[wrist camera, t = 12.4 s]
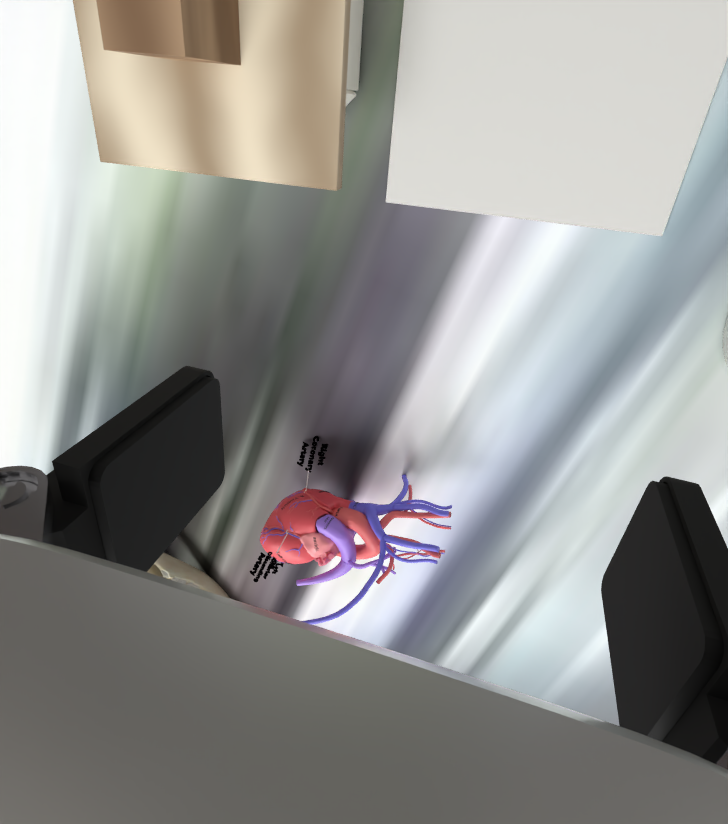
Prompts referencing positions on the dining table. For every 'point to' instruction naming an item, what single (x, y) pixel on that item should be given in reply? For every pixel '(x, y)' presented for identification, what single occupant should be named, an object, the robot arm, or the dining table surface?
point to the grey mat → (553, 107)
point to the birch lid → (220, 86)
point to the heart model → (340, 533)
